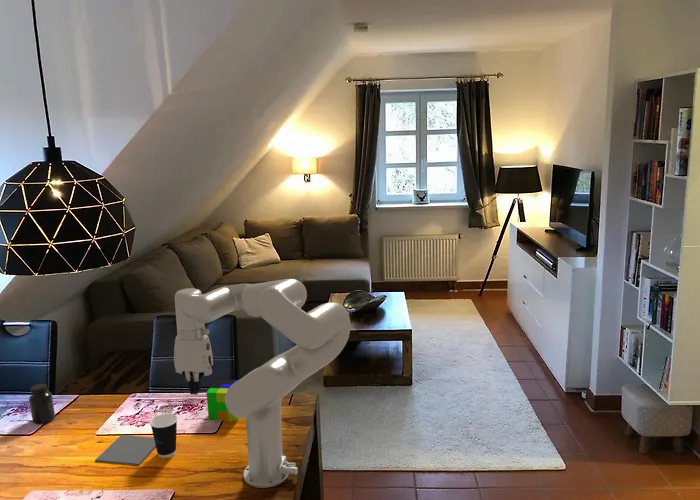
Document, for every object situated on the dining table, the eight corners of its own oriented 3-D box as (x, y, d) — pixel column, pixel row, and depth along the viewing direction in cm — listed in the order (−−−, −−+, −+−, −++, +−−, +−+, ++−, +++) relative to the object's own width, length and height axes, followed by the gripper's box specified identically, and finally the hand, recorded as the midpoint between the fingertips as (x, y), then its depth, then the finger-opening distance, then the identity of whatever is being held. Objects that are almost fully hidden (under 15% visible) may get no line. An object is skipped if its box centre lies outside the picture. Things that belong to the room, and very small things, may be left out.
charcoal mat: (162, 439, 182) (162, 438, 182) (139, 465, 168) (139, 463, 168) (121, 436, 184) (121, 434, 184) (95, 461, 171) (95, 459, 171)
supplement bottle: (48, 412, 200) (44, 380, 197) (59, 418, 196) (54, 385, 193) (28, 421, 195) (23, 388, 192) (38, 427, 191) (33, 393, 188)
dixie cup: (182, 445, 178) (179, 412, 176) (177, 459, 171) (174, 425, 168) (156, 447, 178) (153, 414, 175) (150, 461, 170) (146, 427, 168)
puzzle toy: (246, 406, 202) (244, 380, 200) (237, 421, 192) (236, 393, 190) (218, 405, 203) (216, 379, 201) (208, 420, 193) (206, 392, 191)
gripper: (221, 329, 166) (224, 388, 170) (172, 326, 169) (177, 384, 173) (210, 338, 159) (214, 400, 163) (160, 335, 161) (165, 396, 166)
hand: (195, 392), depth 168 cm, fingers closed
